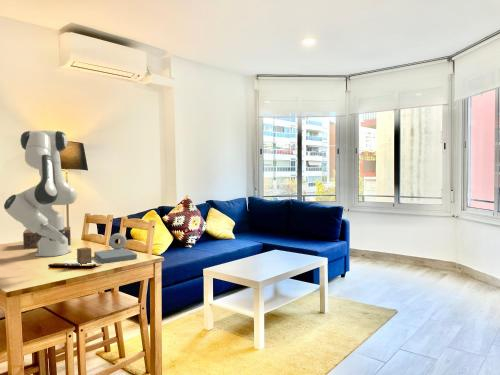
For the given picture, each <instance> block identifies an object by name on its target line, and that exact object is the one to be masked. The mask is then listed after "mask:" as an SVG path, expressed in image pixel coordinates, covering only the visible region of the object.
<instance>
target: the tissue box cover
mask: <svg viewBox="0 0 500 375" xmlns="http://www.w3.org/2000/svg"><path fill="white" fill-rule="evenodd" d="M64 230H65V235H64V236H65V237H66V238H67V239H68V247H69V246H71V242H72V241H71V226H64ZM41 237H42V236H41V235H40V234H38V233H32V232H31V231H29V230H28V229H27V228H26V229H25V230H24V231H23V233H22V238H23V250H26V249H38V247H37V243H38V242H39V240H40V239H41Z"/></svg>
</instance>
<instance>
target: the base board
mask: <svg viewBox="0 0 500 375" xmlns="http://www.w3.org/2000/svg"><path fill="white" fill-rule="evenodd" d="M93 255H94V256H93V257H95V258H96V259H97V260H98V261H99V262H100V261H101V262H100V263H101V264H108V263H115V262H122V261H124V262H125V261H131V260H137V259H138V254H137V253H135V252H134V251H132V250H131V249H128V248H127V247H126V248H122V249H110V250H109V249H108V250H101V251H94V254H93Z"/></svg>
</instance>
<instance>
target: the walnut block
mask: <svg viewBox="0 0 500 375" xmlns="http://www.w3.org/2000/svg"><path fill="white" fill-rule="evenodd" d="M77 262H78V263H80V264H81V265H82V264H87V263H92V248H90V247H88V246H87V247H79V248H76V263H77Z"/></svg>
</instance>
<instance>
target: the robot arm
mask: <svg viewBox="0 0 500 375" xmlns="http://www.w3.org/2000/svg"><path fill="white" fill-rule="evenodd" d="M20 145H21V148H22V149H23V150H24V161H25V163H26V164H27V165H28V166H30V167H31V168H33V169H35V170H38V173H39V174H38V175H39V176H40V181H39V182H38V183H37V184H36V185H34V186H32V187H30V188H28V189H26V190H24V191H22V192H20V193H17V194H12V195H11V196H9V197H8V198H7V199H6V200H5V202H4V205H3V209H4V210H5V212H6V213H7V214H8V215H9V216H11V218H13V219H14V220H16V221H17V222H19V223H21V224H22V226H23V227H24V228H26V229H28V230H29V231H31V232H32V233H38V234H40V235H41V236H42V237H41V239H40V240H39V242H38V243H37V247H38V248H36V249H37V250H36V251H35V253H34V257H57V256H63V255H66V254H69V253H72V249H69V246H68V239H67V238H66V237H65V236H64V235H65V230H64V227H65V226H64V225H65V224H64V215H63V213H61V212H59V211H57V210H55V208H54V207H53V206H65V205H66V206H67V205H70V204H71V205H72V204H73V203H75V201H76V200H77V196H78V194H77V193H78V192H77V191H76V189H75V188H74V187H73V186H71V185H70V184H69V183H68V182H67V181H66V180H65V178H64V176H63V171H62V165H61V164H62V163H61V155H60V153H61V152H62V151H64V150H65V149H66V148H67V145H68V138H67V135H66V134H65V132H63V131H60V130H57V131H56V130H32V131H31V130H29V131H24V132H23V133H21V135H20Z"/></svg>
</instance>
